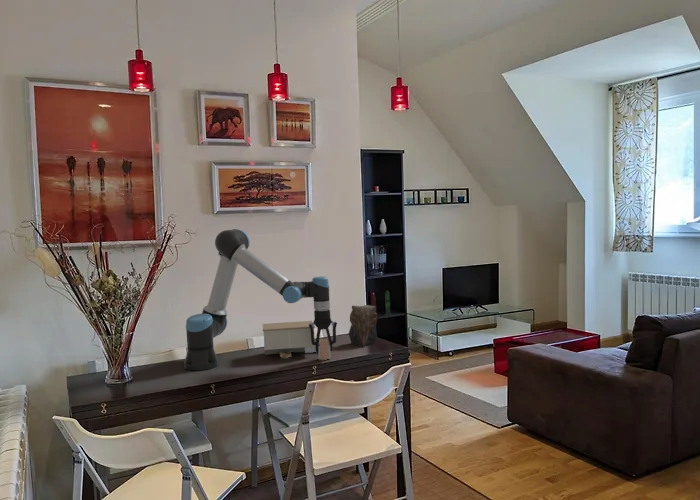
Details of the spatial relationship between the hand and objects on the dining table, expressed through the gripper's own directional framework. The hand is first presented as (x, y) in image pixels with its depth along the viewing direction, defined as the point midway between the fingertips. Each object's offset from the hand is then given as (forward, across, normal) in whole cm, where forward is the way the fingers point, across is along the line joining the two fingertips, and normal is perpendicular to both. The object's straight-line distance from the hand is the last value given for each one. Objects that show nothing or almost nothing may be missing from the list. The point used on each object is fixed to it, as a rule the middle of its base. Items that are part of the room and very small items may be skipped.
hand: (324, 358), depth 256 cm
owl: (+1, +23, +24) cm, 33 cm away
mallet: (0, -3, +6) cm, 7 cm away
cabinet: (0, -16, +13) cm, 21 cm away
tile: (0, -18, +10) cm, 20 cm away
